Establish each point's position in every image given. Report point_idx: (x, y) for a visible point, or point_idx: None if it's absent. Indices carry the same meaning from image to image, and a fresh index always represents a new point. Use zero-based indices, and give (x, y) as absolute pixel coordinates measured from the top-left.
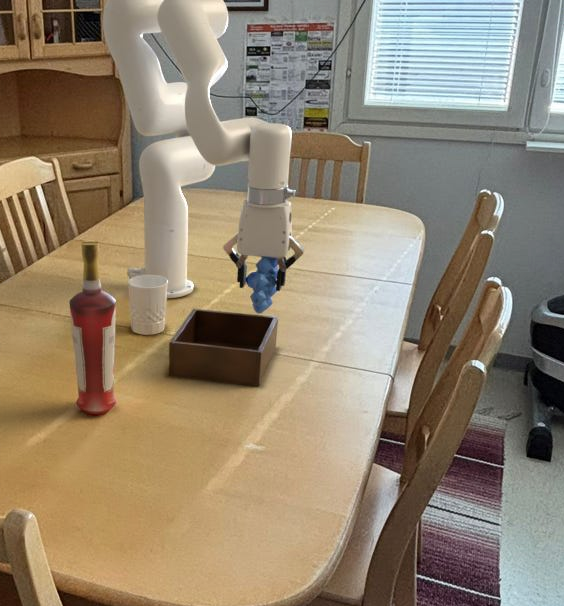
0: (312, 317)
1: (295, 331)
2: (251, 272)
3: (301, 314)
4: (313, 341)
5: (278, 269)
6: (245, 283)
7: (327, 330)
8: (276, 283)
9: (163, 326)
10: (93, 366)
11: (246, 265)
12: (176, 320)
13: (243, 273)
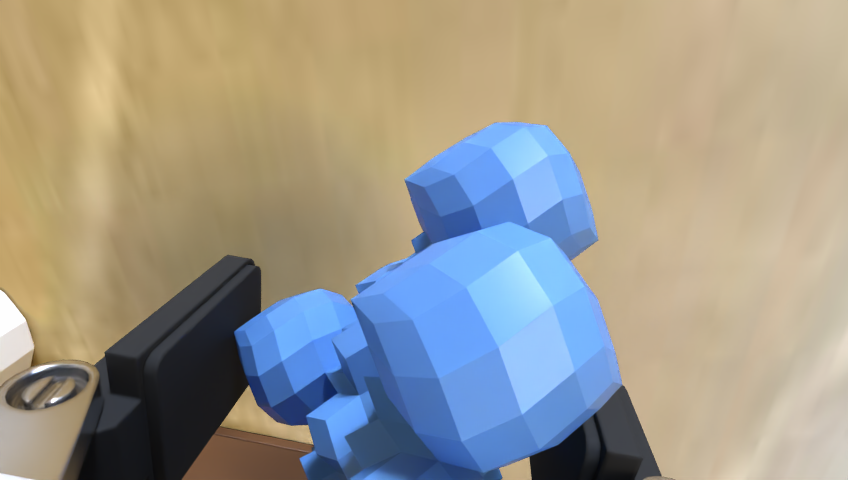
0: (780, 87)
1: (627, 309)
2: (260, 383)
3: (714, 37)
4: (697, 414)
5: (582, 204)
6: (258, 284)
7: (814, 286)
8: (531, 468)
9: (18, 355)
10: None
11: (153, 375)
12: (32, 216)
13: (190, 463)
